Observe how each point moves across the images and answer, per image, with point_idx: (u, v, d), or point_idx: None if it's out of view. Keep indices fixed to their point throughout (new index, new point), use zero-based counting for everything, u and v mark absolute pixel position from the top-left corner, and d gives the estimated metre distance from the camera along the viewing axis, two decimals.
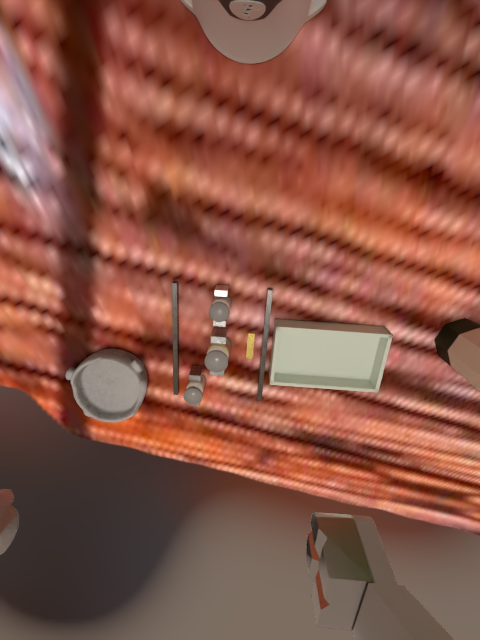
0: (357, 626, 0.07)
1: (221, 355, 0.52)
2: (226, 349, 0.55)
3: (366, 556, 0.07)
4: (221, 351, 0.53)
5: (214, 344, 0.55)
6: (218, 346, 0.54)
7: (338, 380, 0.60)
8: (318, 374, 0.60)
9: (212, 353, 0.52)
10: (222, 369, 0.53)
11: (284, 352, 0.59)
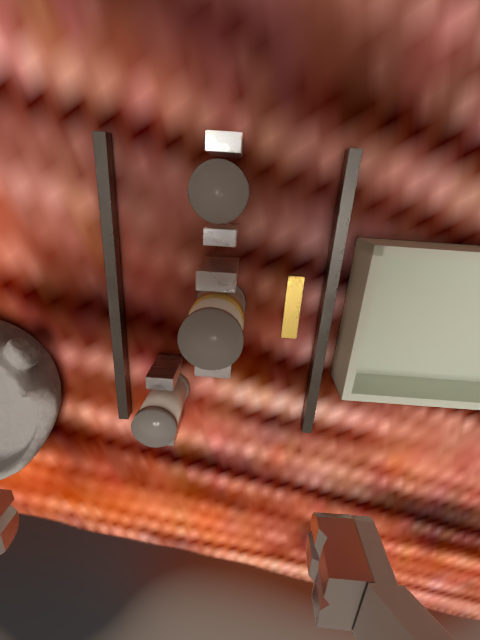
0: (358, 626, 0.07)
1: (224, 322, 0.18)
2: (237, 309, 0.21)
3: (366, 556, 0.07)
4: (224, 311, 0.19)
5: (206, 296, 0.21)
6: (215, 301, 0.20)
7: None
8: (447, 375, 0.26)
9: (199, 316, 0.18)
10: (227, 362, 0.19)
11: (374, 324, 0.25)
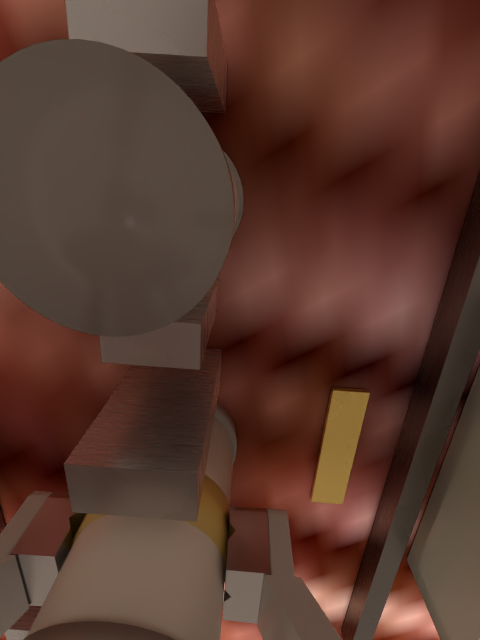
0: (263, 619, 0.07)
1: None
2: (209, 539, 0.07)
3: (270, 549, 0.07)
4: (152, 633, 0.05)
5: None
6: (136, 539, 0.06)
7: None
8: None
9: None
10: None
11: None
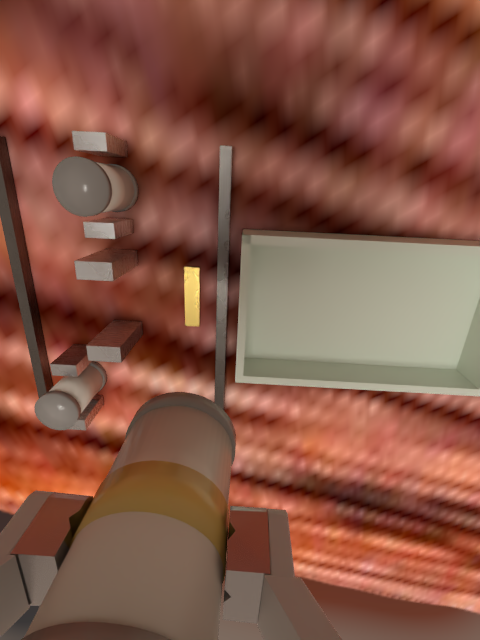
0: (262, 619, 0.07)
1: None
2: (207, 539, 0.07)
3: (270, 549, 0.07)
4: (149, 633, 0.05)
5: (119, 498, 0.07)
6: (134, 540, 0.06)
7: (389, 371, 0.27)
8: (344, 358, 0.28)
9: None
10: None
11: (268, 310, 0.26)
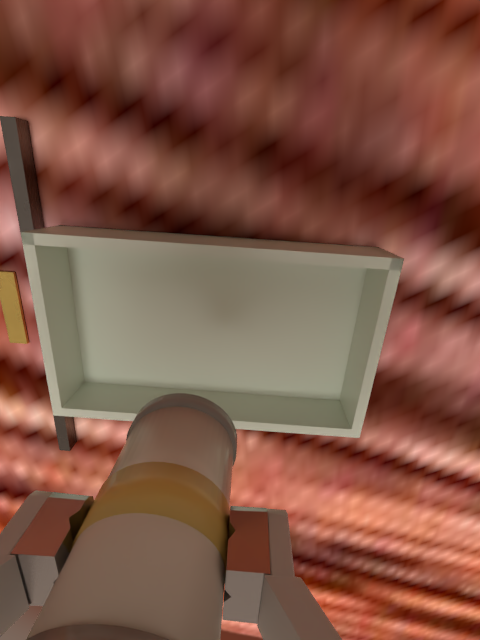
0: (262, 619, 0.07)
1: None
2: (209, 541, 0.07)
3: (270, 549, 0.07)
4: (152, 636, 0.05)
5: (121, 499, 0.07)
6: (136, 541, 0.06)
7: (254, 402, 0.22)
8: (204, 385, 0.23)
9: None
10: None
11: (103, 327, 0.21)
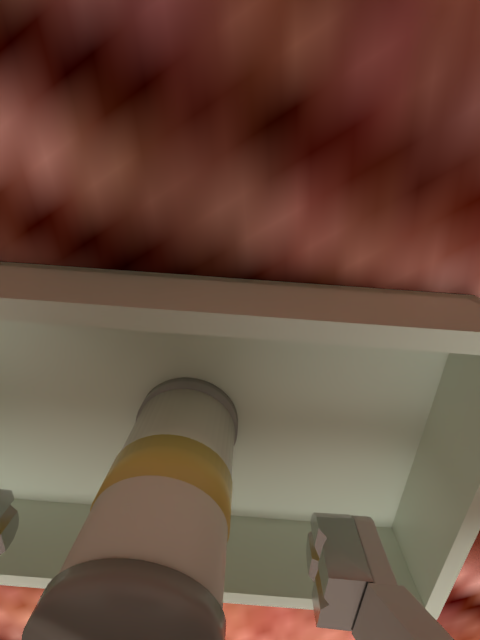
0: (357, 626, 0.07)
1: (162, 622, 0.06)
2: (214, 501, 0.08)
3: (366, 556, 0.07)
4: (167, 569, 0.06)
5: (135, 465, 0.08)
6: (150, 497, 0.07)
7: (256, 537, 0.14)
8: None
9: (78, 606, 0.06)
10: None
11: (8, 419, 0.13)
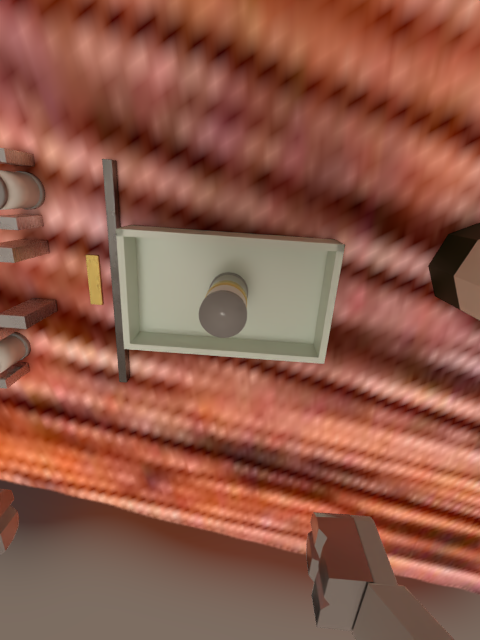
0: (357, 626, 0.07)
1: (233, 301, 0.25)
2: (242, 293, 0.27)
3: (366, 556, 0.07)
4: (233, 293, 0.25)
5: (218, 284, 0.28)
6: (226, 286, 0.27)
7: (255, 343, 0.33)
8: None
9: (215, 296, 0.25)
10: (235, 331, 0.26)
11: (155, 292, 0.32)
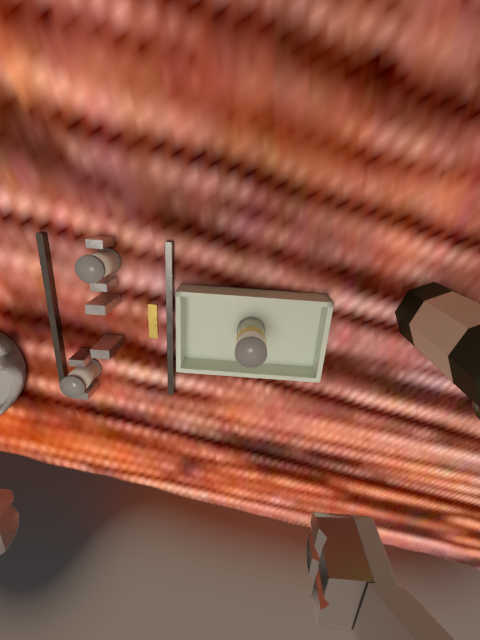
0: (358, 626, 0.07)
1: (258, 344, 0.37)
2: (263, 336, 0.40)
3: (366, 556, 0.07)
4: (258, 338, 0.38)
5: (246, 329, 0.40)
6: (252, 332, 0.39)
7: (270, 367, 0.45)
8: None
9: (246, 341, 0.37)
10: (259, 363, 0.38)
11: (198, 330, 0.45)
